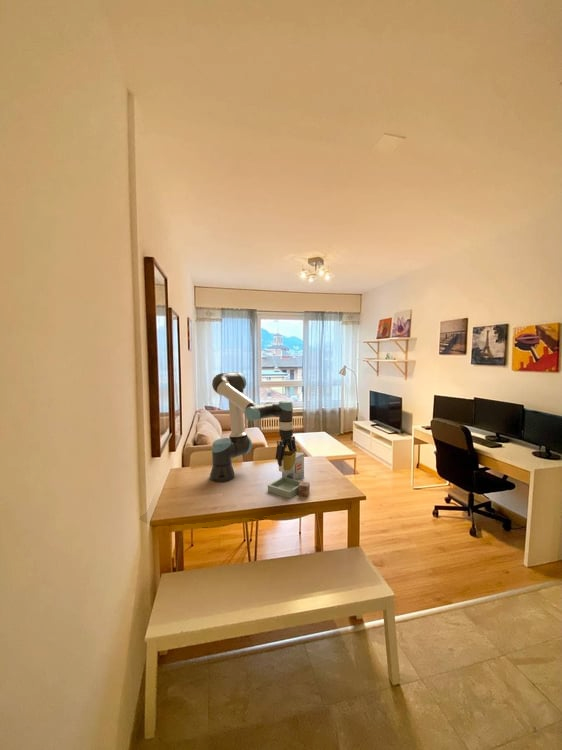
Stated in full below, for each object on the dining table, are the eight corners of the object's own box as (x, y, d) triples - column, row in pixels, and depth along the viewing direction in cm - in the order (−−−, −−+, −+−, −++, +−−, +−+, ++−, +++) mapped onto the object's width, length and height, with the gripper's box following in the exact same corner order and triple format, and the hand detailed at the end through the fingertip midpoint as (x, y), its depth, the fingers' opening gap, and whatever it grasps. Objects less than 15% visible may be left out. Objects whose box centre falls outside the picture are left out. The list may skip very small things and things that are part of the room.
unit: (281, 480, 184) (281, 456, 183) (293, 473, 194) (293, 451, 193) (293, 484, 179) (293, 459, 178) (305, 477, 189) (304, 453, 188)
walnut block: (298, 496, 163) (298, 485, 163) (300, 492, 168) (300, 481, 168) (307, 497, 162) (307, 486, 162) (309, 493, 167) (309, 482, 166)
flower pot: (276, 470, 168) (276, 454, 167) (282, 465, 176) (281, 450, 175) (291, 472, 164) (291, 456, 164) (296, 467, 173) (296, 451, 172)
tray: (267, 491, 170) (267, 485, 169) (283, 482, 181) (283, 476, 181) (289, 498, 161) (289, 492, 160) (305, 488, 172) (305, 482, 172)
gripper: (279, 433, 158) (280, 476, 159) (302, 425, 175) (303, 464, 177) (268, 431, 162) (268, 473, 164) (291, 424, 180) (292, 461, 181)
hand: (286, 468), depth 170 cm, fingers closed on flower pot, 9 cm apart
